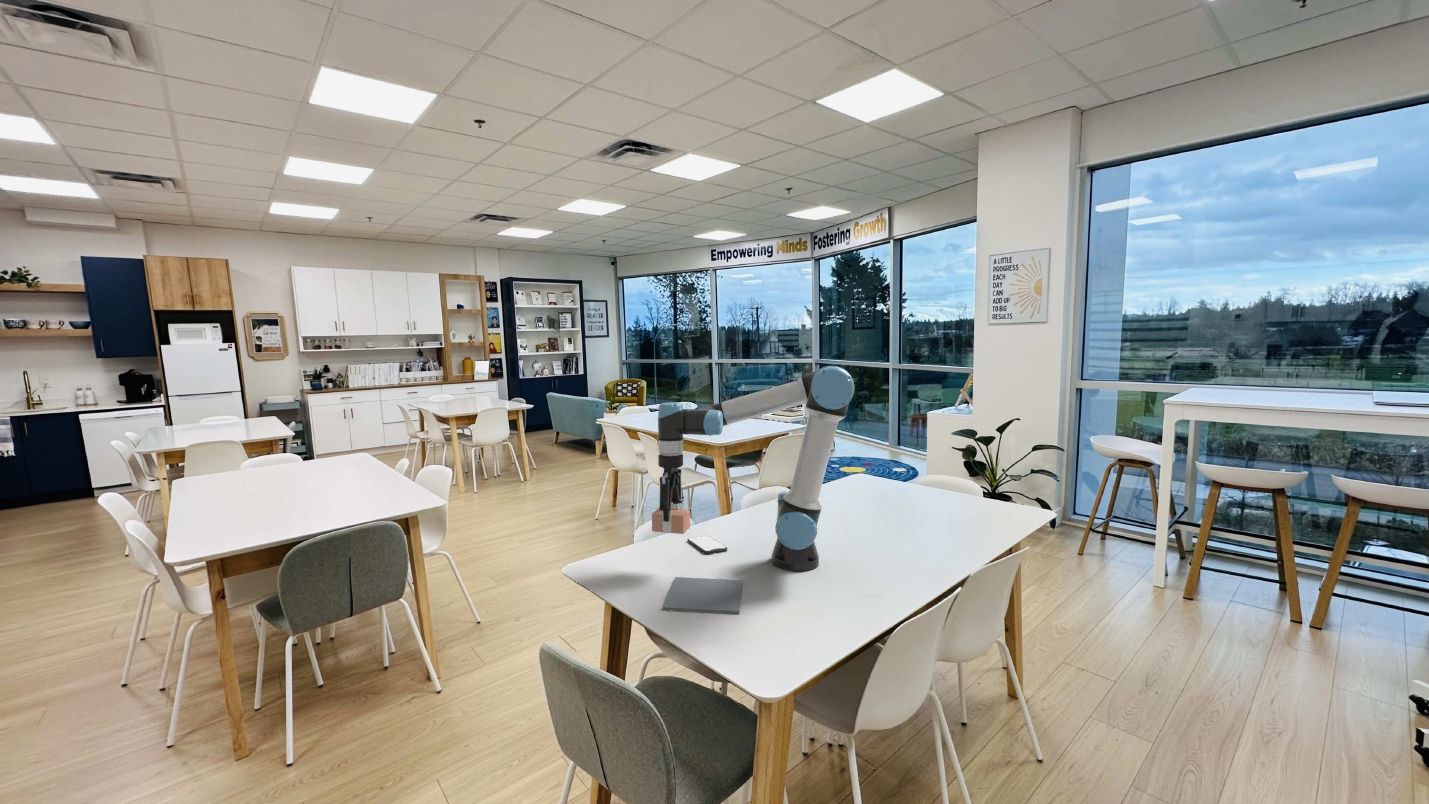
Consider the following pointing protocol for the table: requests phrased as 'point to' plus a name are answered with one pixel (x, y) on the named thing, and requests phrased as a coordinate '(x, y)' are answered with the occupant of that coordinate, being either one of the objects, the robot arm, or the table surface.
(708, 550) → the smartphone
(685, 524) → the card box
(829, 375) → the robot arm
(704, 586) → the mat
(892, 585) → the table surface
